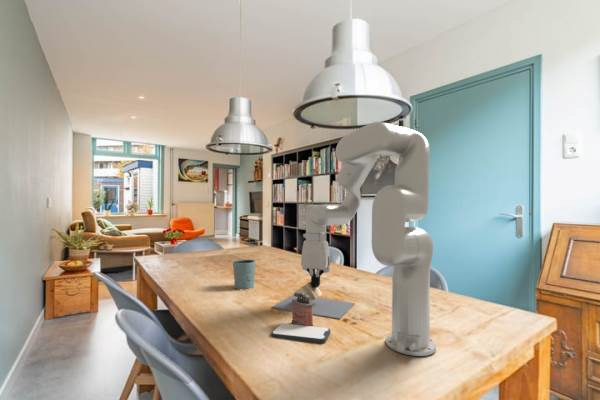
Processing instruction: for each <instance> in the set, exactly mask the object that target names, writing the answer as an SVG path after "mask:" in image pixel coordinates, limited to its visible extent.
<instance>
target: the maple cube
mask: <svg viewBox="0 0 600 400" xmlns="http://www.w3.org/2000/svg"><path fill="white" fill-rule="evenodd" d="M295 292H299V293H301V294H303V293H306V295H308V296H310V300H309V302H311V301H312V300H314V299H316V298H320V296H322V295H323V293H322V292H321V290H320V289H319V286H318V287H317V288H315V287H314V288H313V287H312V284H311V281H309V282H308V283H306V284H304V285H303V286H302V287H300V288H299V289H297V290H295V291H294V293H295Z"/></svg>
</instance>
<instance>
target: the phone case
mask: <svg viewBox="0 0 600 400" xmlns="http://www.w3.org/2000/svg"><path fill="white" fill-rule="evenodd" d="M330 334H331V329H330V328H329V327H322V326H314V325H313V326H304V325H294V324H292V323H282V322H281V323H279V324H278V325H277V326H276V327H274V329H273V330H272V331H271V332H270V337H272V338H276V339H282V338H283V339H284V340H291V341H298V342H304V343H305V342H306V343H311V344H312V343H313V344H321V345H323V344H325V343H327V340H329V339H328V338H329V336H330ZM283 339H282V340H283Z"/></svg>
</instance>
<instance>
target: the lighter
mask: <svg viewBox="0 0 600 400" xmlns="http://www.w3.org/2000/svg"><path fill="white" fill-rule="evenodd" d="M293 295H294V296H295V297H297V298H295V299H292V311H291V312H292V320H291V324H294V325H304V326H314V325H313V323H314V321H313V320H314V319H313V316H314V315H313V303H312V302H309V300H310V296H308V295H306V293H303V294H301V293H299V292H295V291H294V292H293Z"/></svg>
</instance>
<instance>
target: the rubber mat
mask: <svg viewBox="0 0 600 400" xmlns="http://www.w3.org/2000/svg"><path fill="white" fill-rule="evenodd" d="M295 298H297V297H295V296H294V294H292V295H290V296H288V297H287V298H284V299H283V300H281V301H280V302H278V303H276V304H274V305H273V306H271V309H275V308H276V309H275V310H280V311H282V310H283V311H287V312H292V299H295ZM311 302H312V303H313V316H316V317H317V316H318V317H324V318H330V319H335V320H341V319H342V318H343V317H344V316H345V315H346V314H347V313H348V312H349V310H351V309H352V308H353V307H354V306H355V304H356V303H355V302H351V301H349V302H348V301H344V300H337V299H329V298H322V297H317V298H316V299H314V300H312V301H311Z"/></svg>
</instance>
